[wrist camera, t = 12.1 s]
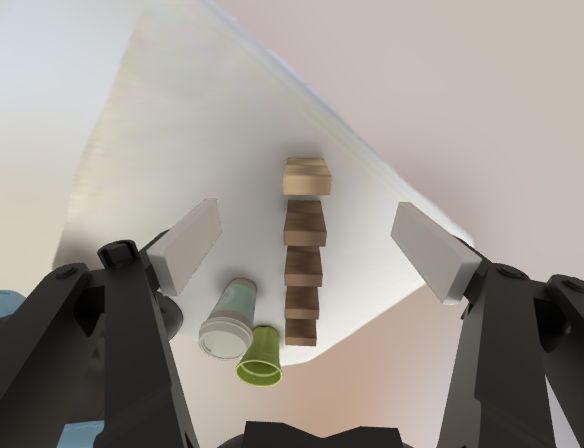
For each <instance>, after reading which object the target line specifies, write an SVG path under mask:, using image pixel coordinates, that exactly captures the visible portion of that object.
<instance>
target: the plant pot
mask: <svg viewBox="0 0 584 448" xmlns="http://www.w3.org/2000/svg"><path fill="white" fill-rule="evenodd" d="M252 335H253V341H252V343H251V345H250V347H249V348H248V350H247V351H246V353H245V355H244V356H243V358H242V359H241V361H240V363H239V364H238V365H237V366H236V369H235V374H236V376H237V377H238V378H239V379H240V380H241V381H243V382H245V383H247V384H249V385H252V386H258V387H269V386H273V385H276V384H278V383H279V382H280V381H281V379H282V376H283V375H282V371H281V368H280V363H279V335H278V332H277V331H276V330H275V329H273V328H271V327H257V328H256V329H254V331H253V333H252Z"/></svg>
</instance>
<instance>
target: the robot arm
mask: <svg viewBox="0 0 584 448" xmlns="http://www.w3.org/2000/svg"><path fill="white" fill-rule="evenodd" d="M221 232H222V231H221V225H220V220H219V214H218V208H217V202H216V199H205V200H204V201H203V202H201V203H200V204H199V205H198V206H197V207H196V208H195V209H193V210H192V211H191V212H190V213H189V214H188V215H187V216H185V217H184V218H183V219H182V220H181V221H180V222H178V223H177V224H176V225H175V226H174V227H173V228H172V229H168V230H166V231H164V232H162V233H160V234H159V235H158V236H157V237H155V238H154V239H153V240H152V241H151V242H150V243H149V244H147V245H146V246H145V247H144V248H142V249H141V250H140V251H139V252H138V250H137V247H136V245H135V242H134V241H132V240H120V241H115V242H112V243H109V244H107V245H105V246H103V247H102V248H100V249H99V250H98V252H97V254H98V256H99V258H100V260H101V262H102V264H103V266H104V268H105V269H100V270H94V271H89V269H88V267H87V265H86V264H84V263H73V264H69V265H64V266H62V267H59V268H57V269H56V270H54V271H52V272H50V273H49V274H48V275H47V276H45V277H44V279H43V280H42V281H41V282H40V283H39V285H38V286H37V287H36V288H35V289H34V290H33V292H31V294H30V295H29V296H28V297H27V298H26V297H24V296H22V295H21V294H19V293H17V292H15V291H11V290H0V448H200V447H199V444H198V441H197V438H196V435H195V432H194V429H193V425H192V422H191V418H190V415H189V411H188V408H187V404H186V401H185V397H184V393H183V390H182V386H181V383H180V379H179V376H178V372H177V368H176V365H175V361H174V358H173V354H172V351H171V347H170V343H169V341H170V340H171V339H172V338H173V337H174V336H175V335H176V334H177V332H178V330H179V329H180V327H181V325H182V322H183V316H182V313H181V311H180V309H179V308H178V306H177V305H176V304H175V303H174V302H173V301H172V300H170V299H169V298H168V297H166V296H179V294H180V293H181V291H182V290H183V288H184V287H185V285H186V284H187V282H188V281H189V279H190V278H191V276H192V275H193V274H194V272H195V271H196V269H197V268H198V266H199V265H200V263H201V262H202V260H203V259H204V257H205V256H206V254H207V253H208V251H209V250H210V248H211V247H212V246H213V244H214V243H215V241H216V240H217V238H218V237H219V235H220V234H221ZM391 237H392V238H393V240H394V241H395V242H396V244H397V245H398V246H399V248H400V249H401V250H402V252H403V253H404V254H405V256H406V257H407V258H408V259H409V261H410V262H411V263H412V265H413V266H414V267H415V269H416V270H417V271H418V273H419V274H420V275H421V277H422V278H423V279H424V281H425V282H426V283H427V285H428V286H429V287H430V288H431V290H432V291H433V292H434V294H435V295H436V296H437V298H438V299H439V300H440V302H441V303H442V304H445V305H446V304H447V305H459V303H460V301H461V299H462V297H463V295H464V296H465V297H466V298H467V299H468V301H469V303H468V305H467V307H466V309H465V311H464V313H463V315H462V316H461V319H462V320H463V319H464V321H463V325H462V331H461V335H460V340H459V345H458V350H457V355H456V359H455V364H454V369H453V374H452V379H451V383H450V388H449V393H448V398H447V403H446V407H445V413H444V417H443V422H442V427H441V432H440V437H439V441H438V444H437V447H436V448H557V447H556V444H555V438H554V432H553V425H552V420H551V412H550V407H549V399H548V393H547V386H546V379H545V375H546V377H547V379H548V381H549V383H550V385H551V387H552V390H553V391H554V394H555V396H556V398H557V400H558V402H559V404H560V406H561V408H562V410H563V412H564V414H565V416H566V418H567V420H568V422H569V424H570V426H571V429H572V430H573V433H574V435H575V437H576V439H577V441H578V443H579V445H580V447H581V448H584V281H583V280H580V279H578V278H575V277H569V276H565V275H559V274H557V275H552V276H551V278H550V279H549V280H548V282H547V283H544V282H539V281H534V280H530V278H529V277H528V276H527V275H526V274H525V273H523V272H522V271H520V270H518V269H516V268H514V267H511V266H508V265H505V264H500V263H492V262H491V261H489V260H488V259H487V258H485V257H484V256H483V255H482V254H480V253H479V252H478V251H476V250H475V249H474V248H472V247H471V246H469V245H468V244H467V243H466V242H464V241H463V240H462V239H460V238H458V237H456V236H453V235H451V234H450V233H449V232H447V231H446V230H445V229H443V228H442V227H441V226H440V225H438V224H437V223H436V222H435V221H433V220H432V219H431V218H429V217H428V216H427V215H426V214H424V213H423V212H422V211H420V210H419V209H418V208H417V207H415V206H414V205H413V204H411V203H410V202H399V204H398V208H397V212H396V216H395V220H394V224H393V228H392V232H391ZM159 287H160V289H161V292H162V294H161V293H158V292H156V291H157V290H158V289H159ZM217 448H413V447H411V446H409V445H407V444H405V443H403V442H402V440H401V437H400V434H399V431H398V428H384V427H362V426H360V427H357V428H354V429H351V430H348V431H345V432H341V433H338V434H335V435H332V436H329V437H326V438H320V437H317V436H314V435H312V434H309V433H307V432H304V431H302V430H299V429H297V428H295V427H292V426H289V425H287V424H285V423H277V422H256V421H246V426H245V431H244V434H241V435H238V436H236V437H234V438H232V439H229V440H228V441H226V442H225V443H223V444H222V445H220V446H219V447H217Z"/></svg>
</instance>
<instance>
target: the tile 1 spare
mask: <svg viewBox="0 0 584 448" xmlns="http://www.w3.org/2000/svg"><path fill="white" fill-rule="evenodd" d="M330 188H331V174H330V172H329V170H328V168H327V166H326V164H325V162H324V159H316V158H288V161H287V164H286V167H285V170H284V173H283V194H293V195H330Z"/></svg>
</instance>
